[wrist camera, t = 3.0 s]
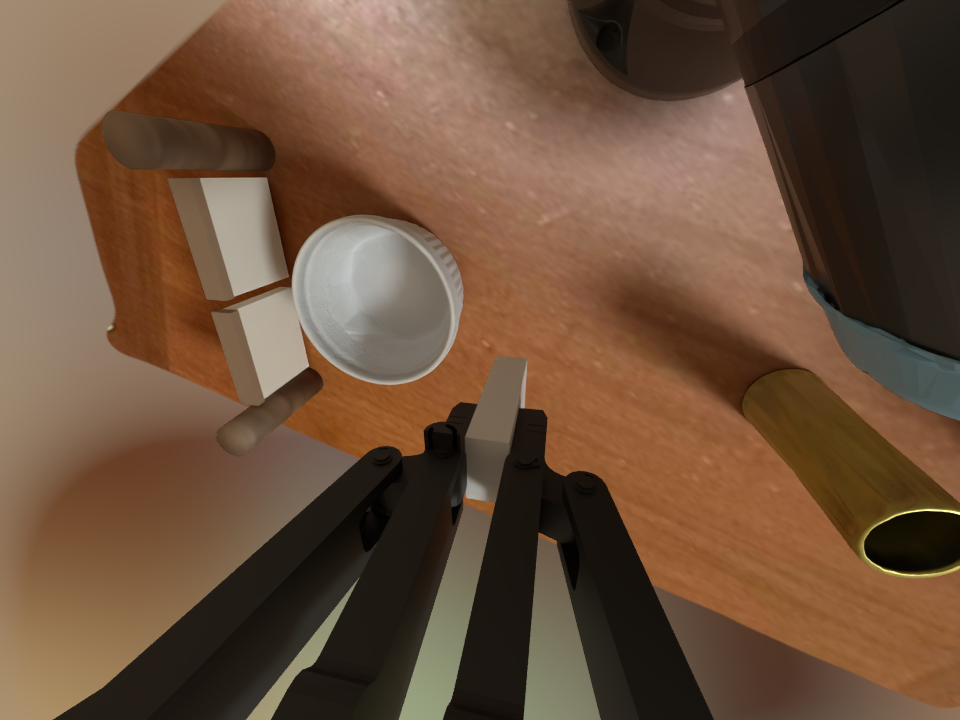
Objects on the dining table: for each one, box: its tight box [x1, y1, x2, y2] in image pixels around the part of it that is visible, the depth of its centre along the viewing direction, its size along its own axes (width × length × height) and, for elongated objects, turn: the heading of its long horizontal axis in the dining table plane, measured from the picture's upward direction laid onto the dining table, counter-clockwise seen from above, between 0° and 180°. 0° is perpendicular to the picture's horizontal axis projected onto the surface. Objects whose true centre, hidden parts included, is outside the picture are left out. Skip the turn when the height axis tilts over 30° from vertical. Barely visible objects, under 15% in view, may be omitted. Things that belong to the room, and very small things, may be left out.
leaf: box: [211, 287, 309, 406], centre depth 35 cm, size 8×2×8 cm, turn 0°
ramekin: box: [292, 215, 464, 385], centre depth 32 cm, size 13×13×7 cm
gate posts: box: [102, 110, 323, 456], centre depth 32 cm, size 25×3×11 cm, turn 0°
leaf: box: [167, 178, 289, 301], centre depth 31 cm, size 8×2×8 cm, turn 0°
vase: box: [742, 369, 960, 578], centre depth 26 cm, size 6×6×14 cm
